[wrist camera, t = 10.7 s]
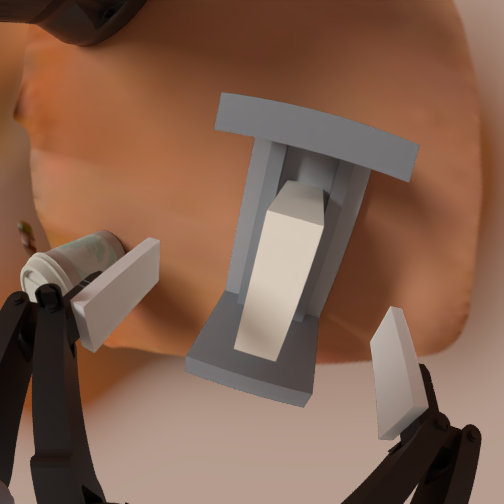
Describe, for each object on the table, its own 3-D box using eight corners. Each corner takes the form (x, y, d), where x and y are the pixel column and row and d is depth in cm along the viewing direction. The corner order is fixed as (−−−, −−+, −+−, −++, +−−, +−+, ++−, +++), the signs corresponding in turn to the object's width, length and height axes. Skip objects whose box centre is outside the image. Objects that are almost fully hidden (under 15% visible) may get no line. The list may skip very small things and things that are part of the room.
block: (288, 178, 23) (266, 210, 14) (322, 188, 23) (323, 226, 14) (262, 279, 28) (233, 348, 19) (292, 288, 27) (275, 361, 19)
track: (263, 108, 22) (221, 92, 12) (377, 138, 21) (419, 145, 11) (225, 300, 31) (184, 371, 21) (313, 326, 30) (303, 407, 20)
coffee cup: (145, 253, 31) (76, 310, 21) (119, 293, 35) (62, 347, 24) (98, 205, 30) (21, 243, 20) (78, 250, 34) (15, 292, 23)
